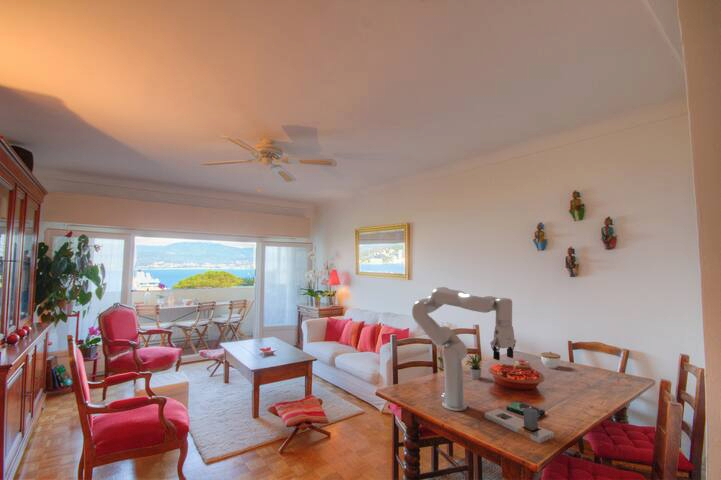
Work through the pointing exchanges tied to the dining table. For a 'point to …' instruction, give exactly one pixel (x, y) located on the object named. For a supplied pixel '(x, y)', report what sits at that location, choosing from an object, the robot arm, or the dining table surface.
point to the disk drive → (518, 408)
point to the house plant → (475, 367)
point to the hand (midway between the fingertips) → (503, 358)
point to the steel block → (530, 419)
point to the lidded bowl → (550, 360)
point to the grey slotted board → (518, 425)
